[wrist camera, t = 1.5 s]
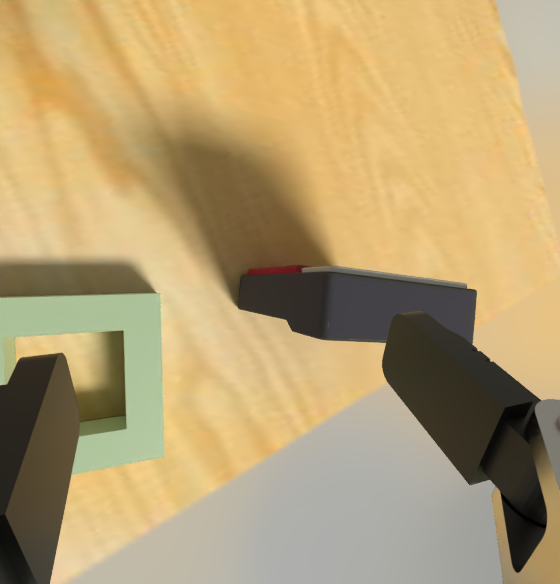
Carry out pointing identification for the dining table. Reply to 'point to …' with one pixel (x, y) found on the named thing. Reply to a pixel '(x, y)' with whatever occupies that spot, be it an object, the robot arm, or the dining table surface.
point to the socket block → (137, 366)
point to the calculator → (353, 301)
